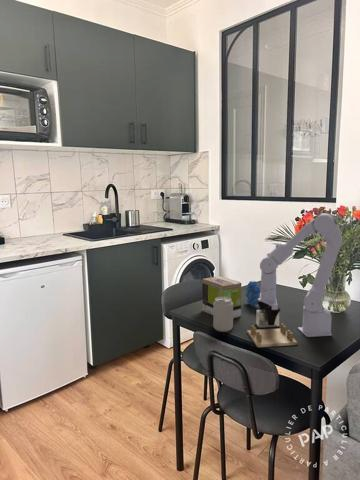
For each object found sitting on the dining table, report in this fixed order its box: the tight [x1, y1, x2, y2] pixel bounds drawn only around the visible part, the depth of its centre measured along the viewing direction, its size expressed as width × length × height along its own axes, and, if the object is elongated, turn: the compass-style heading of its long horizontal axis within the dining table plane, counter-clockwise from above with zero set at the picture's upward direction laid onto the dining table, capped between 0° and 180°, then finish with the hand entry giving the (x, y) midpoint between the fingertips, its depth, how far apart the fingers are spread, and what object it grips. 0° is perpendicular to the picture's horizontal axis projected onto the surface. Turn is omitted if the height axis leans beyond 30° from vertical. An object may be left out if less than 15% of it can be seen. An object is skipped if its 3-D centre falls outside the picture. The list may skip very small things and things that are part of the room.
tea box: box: [201, 275, 242, 319], centre depth 151 cm, size 15×10×15 cm
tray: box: [246, 323, 298, 348], centre depth 127 cm, size 14×12×4 cm
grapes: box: [244, 280, 261, 307], centre depth 160 cm, size 12×7×12 cm, turn 16°
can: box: [212, 297, 234, 333], centre depth 135 cm, size 8×8×12 cm
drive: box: [255, 309, 280, 329], centre depth 139 cm, size 8×4×6 cm, turn 96°
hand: (267, 321), depth 139 cm, fingers open, 7 cm apart
